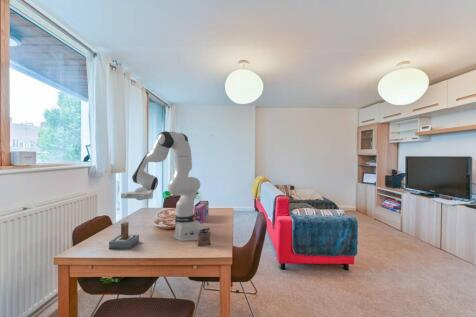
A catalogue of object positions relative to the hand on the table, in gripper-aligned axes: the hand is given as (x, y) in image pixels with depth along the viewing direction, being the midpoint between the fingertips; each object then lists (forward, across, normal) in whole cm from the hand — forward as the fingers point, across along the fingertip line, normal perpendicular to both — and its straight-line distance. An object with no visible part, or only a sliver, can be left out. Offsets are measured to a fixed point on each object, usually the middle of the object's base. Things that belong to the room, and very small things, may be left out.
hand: (132, 197), depth 152 cm
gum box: (-44, +39, +26) cm, 64 cm away
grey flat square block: (+14, +2, +26) cm, 30 cm away
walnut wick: (+14, +2, +25) cm, 29 cm away
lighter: (+13, +49, +26) cm, 57 cm away
